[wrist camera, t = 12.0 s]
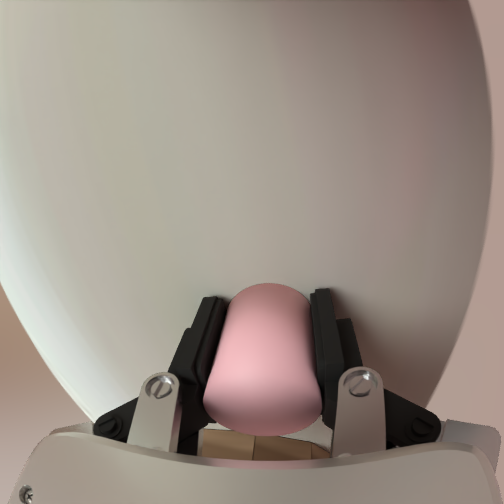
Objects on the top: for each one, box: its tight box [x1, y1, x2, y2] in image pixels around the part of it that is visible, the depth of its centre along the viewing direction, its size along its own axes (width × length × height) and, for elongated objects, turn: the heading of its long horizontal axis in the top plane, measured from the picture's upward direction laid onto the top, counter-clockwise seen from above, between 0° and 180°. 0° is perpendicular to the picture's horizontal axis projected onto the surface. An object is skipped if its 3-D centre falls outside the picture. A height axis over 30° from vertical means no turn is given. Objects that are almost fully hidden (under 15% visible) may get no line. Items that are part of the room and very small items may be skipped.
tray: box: [202, 429, 330, 461], centre depth 18 cm, size 16×16×3 cm
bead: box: [203, 283, 322, 436], centre depth 10 cm, size 4×4×4 cm
